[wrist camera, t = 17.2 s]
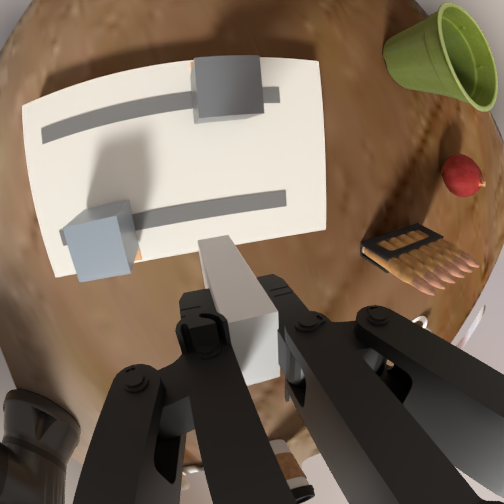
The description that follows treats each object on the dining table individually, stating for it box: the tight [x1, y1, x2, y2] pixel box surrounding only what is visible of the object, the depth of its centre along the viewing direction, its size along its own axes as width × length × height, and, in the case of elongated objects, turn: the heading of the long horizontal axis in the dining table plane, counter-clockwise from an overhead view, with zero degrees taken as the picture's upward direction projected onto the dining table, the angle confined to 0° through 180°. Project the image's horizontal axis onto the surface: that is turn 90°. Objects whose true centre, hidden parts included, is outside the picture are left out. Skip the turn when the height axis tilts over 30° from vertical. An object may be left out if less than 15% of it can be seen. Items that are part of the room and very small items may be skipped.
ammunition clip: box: [361, 224, 480, 295], centre depth 27 cm, size 11×2×12 cm, turn 100°
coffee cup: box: [269, 439, 315, 504], centre depth 39 cm, size 8×8×15 cm
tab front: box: [190, 55, 264, 124], centre depth 16 cm, size 4×4×5 cm
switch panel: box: [22, 57, 326, 277], centre depth 21 cm, size 26×16×3 cm, turn 94°
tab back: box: [63, 199, 139, 282], centre depth 18 cm, size 4×4×5 cm
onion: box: [441, 154, 486, 197], centre depth 27 cm, size 6×6×8 cm
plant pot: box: [383, 2, 498, 111], centre depth 19 cm, size 12×12×11 cm
